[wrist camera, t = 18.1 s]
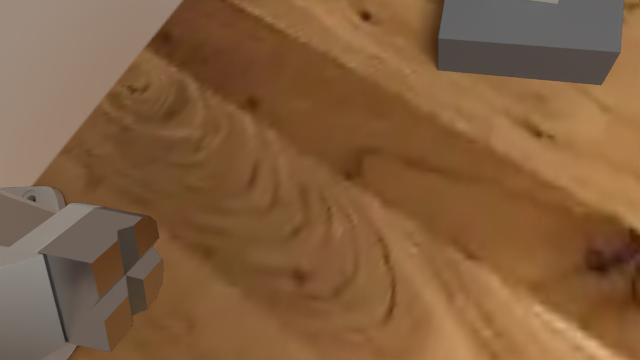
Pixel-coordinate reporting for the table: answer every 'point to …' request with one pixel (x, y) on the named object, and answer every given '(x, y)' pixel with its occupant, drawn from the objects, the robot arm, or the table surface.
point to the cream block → (548, 1)
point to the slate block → (531, 38)
